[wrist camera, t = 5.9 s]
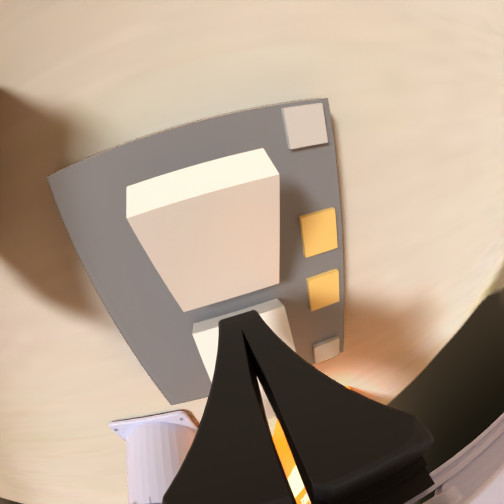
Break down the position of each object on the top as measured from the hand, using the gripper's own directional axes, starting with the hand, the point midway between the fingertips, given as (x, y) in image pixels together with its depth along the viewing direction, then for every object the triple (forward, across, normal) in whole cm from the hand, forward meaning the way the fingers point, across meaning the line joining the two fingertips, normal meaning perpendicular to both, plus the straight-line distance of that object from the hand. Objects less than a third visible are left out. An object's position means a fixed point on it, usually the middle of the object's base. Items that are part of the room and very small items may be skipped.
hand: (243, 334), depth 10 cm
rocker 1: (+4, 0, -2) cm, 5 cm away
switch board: (+7, 0, +2) cm, 7 cm away
